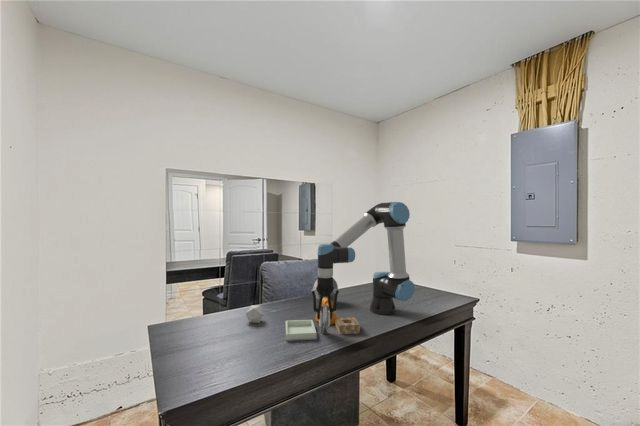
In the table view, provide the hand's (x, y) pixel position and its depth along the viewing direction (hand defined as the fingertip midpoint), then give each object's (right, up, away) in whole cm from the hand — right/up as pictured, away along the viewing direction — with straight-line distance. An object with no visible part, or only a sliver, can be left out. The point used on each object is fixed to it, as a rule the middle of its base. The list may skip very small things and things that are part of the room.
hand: (324, 325), depth 131 cm
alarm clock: (+1, -5, +46) cm, 46 cm away
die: (-36, -3, +13) cm, 39 cm away
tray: (-12, -3, 0) cm, 12 cm away
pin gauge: (0, -4, 0) cm, 4 cm away
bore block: (+11, -4, +5) cm, 13 cm away
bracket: (+2, -4, +14) cm, 15 cm away
